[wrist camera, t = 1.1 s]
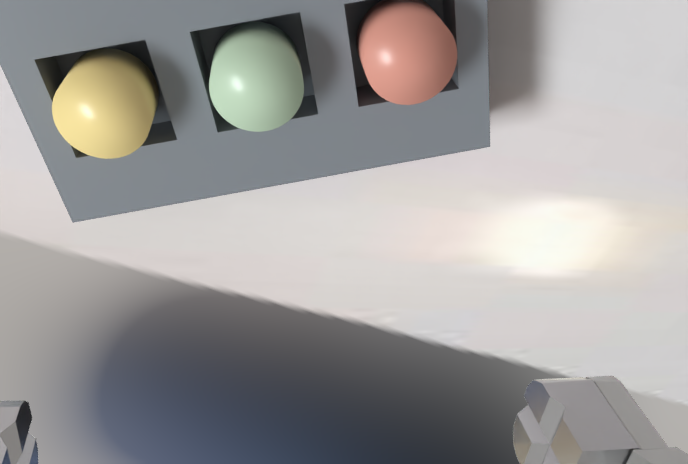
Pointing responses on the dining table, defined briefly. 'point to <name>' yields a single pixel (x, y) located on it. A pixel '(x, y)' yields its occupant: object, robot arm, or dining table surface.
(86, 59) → the mustard button
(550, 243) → the dining table surface
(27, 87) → the button panel
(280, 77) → the sage button
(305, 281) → the dining table surface
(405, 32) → the brick button
